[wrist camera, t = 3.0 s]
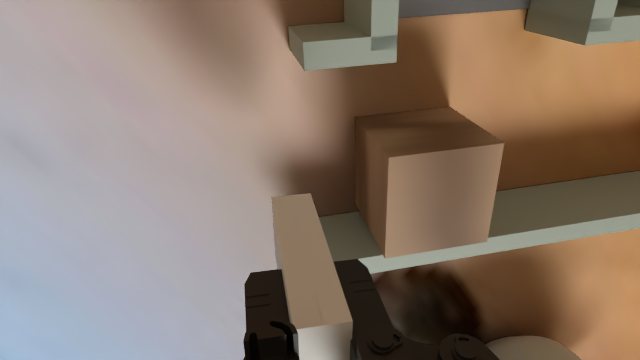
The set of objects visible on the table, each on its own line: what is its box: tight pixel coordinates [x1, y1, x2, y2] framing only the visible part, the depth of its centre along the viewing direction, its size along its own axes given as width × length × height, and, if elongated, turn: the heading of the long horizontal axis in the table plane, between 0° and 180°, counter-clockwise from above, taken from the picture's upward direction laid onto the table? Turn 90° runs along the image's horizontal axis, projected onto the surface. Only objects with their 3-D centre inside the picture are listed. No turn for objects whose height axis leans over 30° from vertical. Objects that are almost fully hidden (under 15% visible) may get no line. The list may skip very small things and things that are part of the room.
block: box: [355, 107, 504, 258], centre depth 21 cm, size 5×5×5 cm
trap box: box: [288, 0, 640, 274], centre depth 20 cm, size 30×18×4 cm, turn 93°
